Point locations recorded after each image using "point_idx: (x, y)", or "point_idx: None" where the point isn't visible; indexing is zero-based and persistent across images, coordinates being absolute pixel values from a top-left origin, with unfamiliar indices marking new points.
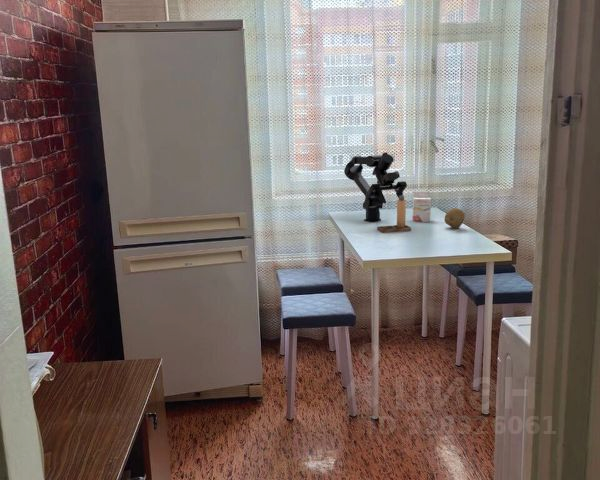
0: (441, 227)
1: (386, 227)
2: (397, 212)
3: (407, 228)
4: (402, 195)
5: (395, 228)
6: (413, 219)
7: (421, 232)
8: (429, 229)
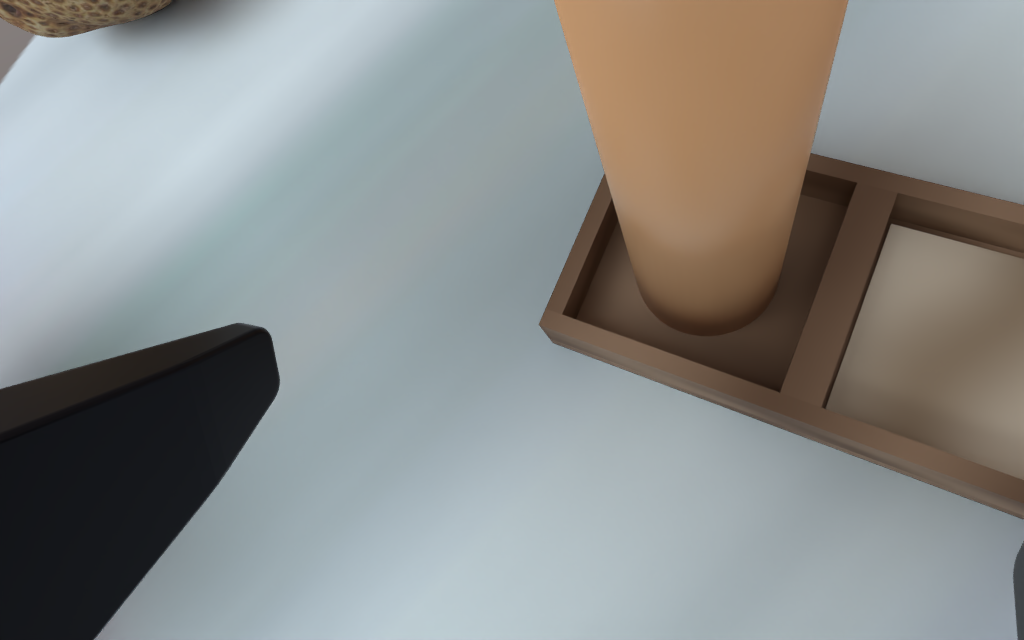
0: (184, 123)
1: (906, 442)
2: (817, 124)
3: None
4: (22, 392)
5: (893, 196)
6: None
7: (556, 48)
8: (355, 120)
